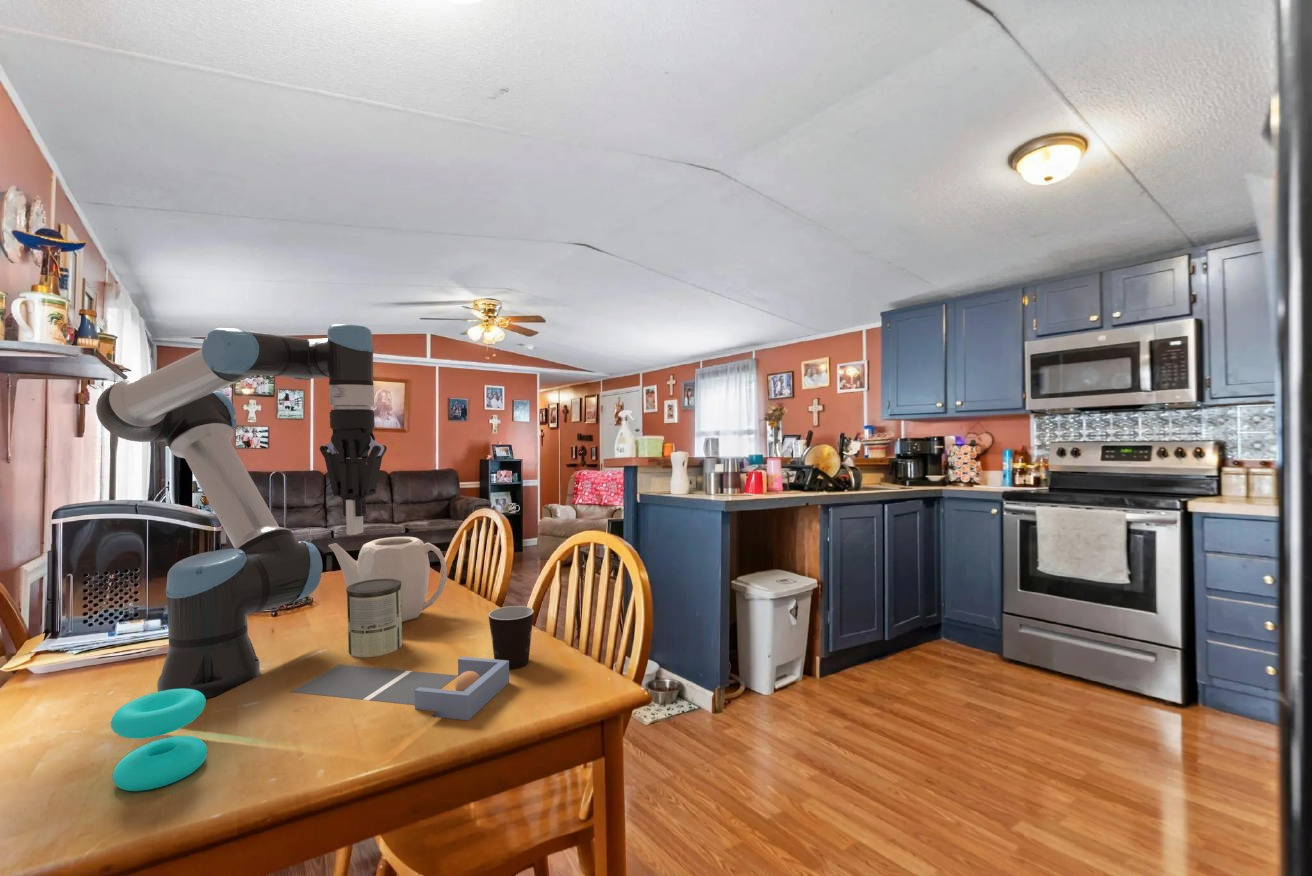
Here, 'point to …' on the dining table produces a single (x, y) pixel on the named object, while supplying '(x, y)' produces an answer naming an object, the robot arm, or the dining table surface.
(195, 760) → the donuts
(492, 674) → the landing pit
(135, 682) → the dining table surface
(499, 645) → the coffee mug
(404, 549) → the white teapot
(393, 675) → the runway
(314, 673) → the dining table surface
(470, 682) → the ball
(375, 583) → the coffee can
